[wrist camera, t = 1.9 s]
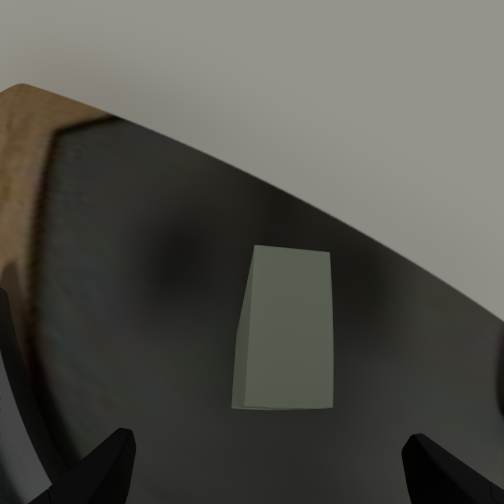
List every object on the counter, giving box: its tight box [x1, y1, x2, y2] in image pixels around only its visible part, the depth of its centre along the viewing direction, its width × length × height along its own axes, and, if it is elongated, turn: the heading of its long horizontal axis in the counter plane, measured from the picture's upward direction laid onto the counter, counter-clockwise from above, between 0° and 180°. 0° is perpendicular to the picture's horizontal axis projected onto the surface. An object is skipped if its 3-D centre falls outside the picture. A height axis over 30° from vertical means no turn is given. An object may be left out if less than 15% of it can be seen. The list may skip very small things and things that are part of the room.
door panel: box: [231, 245, 333, 410], centre depth 14 cm, size 5×2×12 cm, turn 177°
